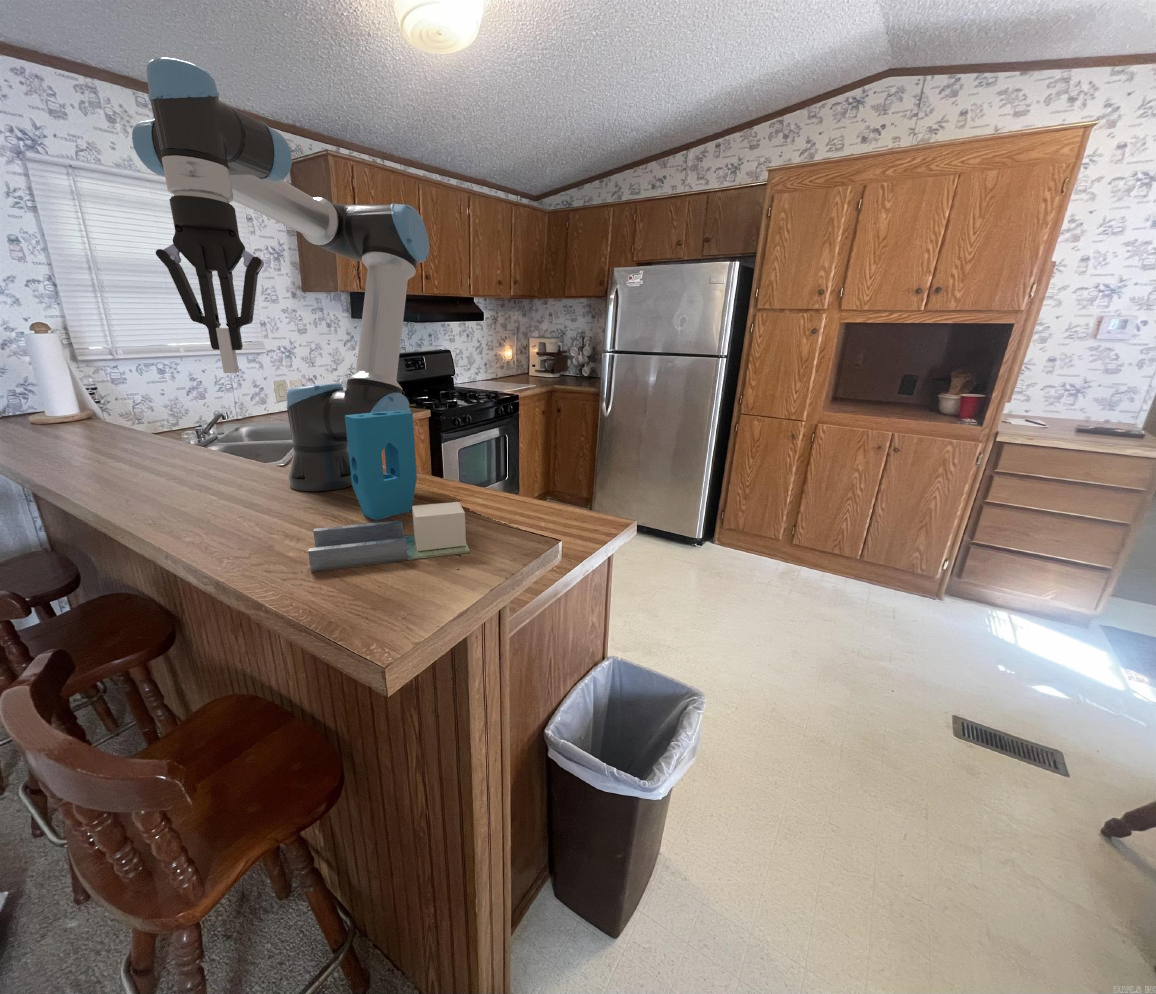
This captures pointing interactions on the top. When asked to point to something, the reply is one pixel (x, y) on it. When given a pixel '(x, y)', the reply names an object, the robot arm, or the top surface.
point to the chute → (368, 546)
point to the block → (365, 447)
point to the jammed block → (439, 526)
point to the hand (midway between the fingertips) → (231, 372)
